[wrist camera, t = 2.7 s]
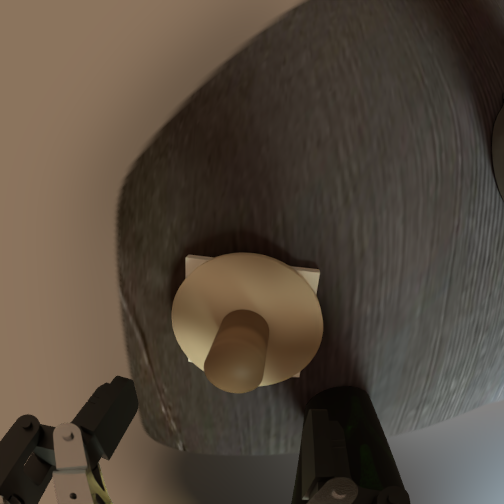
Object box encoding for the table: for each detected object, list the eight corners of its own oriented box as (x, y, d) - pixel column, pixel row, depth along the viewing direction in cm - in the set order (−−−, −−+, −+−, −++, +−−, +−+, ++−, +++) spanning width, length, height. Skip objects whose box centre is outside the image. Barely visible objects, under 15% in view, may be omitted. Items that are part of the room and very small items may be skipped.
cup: (320, 444, 22) (321, 553, 10) (273, 404, 20) (255, 539, 9) (395, 409, 19) (426, 523, 8) (358, 360, 18) (394, 509, 7)
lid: (174, 244, 17) (136, 271, 12) (334, 261, 16) (351, 298, 11) (179, 366, 20) (156, 410, 15) (307, 385, 19) (309, 435, 14)
